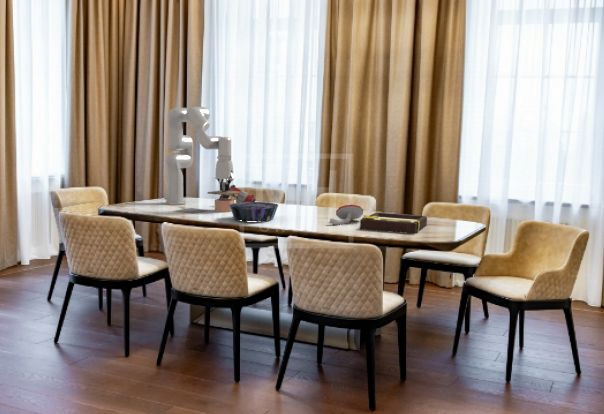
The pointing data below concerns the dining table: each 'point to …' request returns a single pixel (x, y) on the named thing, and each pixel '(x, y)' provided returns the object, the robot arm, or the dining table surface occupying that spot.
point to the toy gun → (239, 195)
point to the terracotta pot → (223, 205)
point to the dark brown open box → (393, 222)
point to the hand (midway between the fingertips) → (224, 190)
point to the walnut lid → (223, 192)
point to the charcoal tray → (192, 210)
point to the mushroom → (347, 214)
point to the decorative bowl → (253, 211)
